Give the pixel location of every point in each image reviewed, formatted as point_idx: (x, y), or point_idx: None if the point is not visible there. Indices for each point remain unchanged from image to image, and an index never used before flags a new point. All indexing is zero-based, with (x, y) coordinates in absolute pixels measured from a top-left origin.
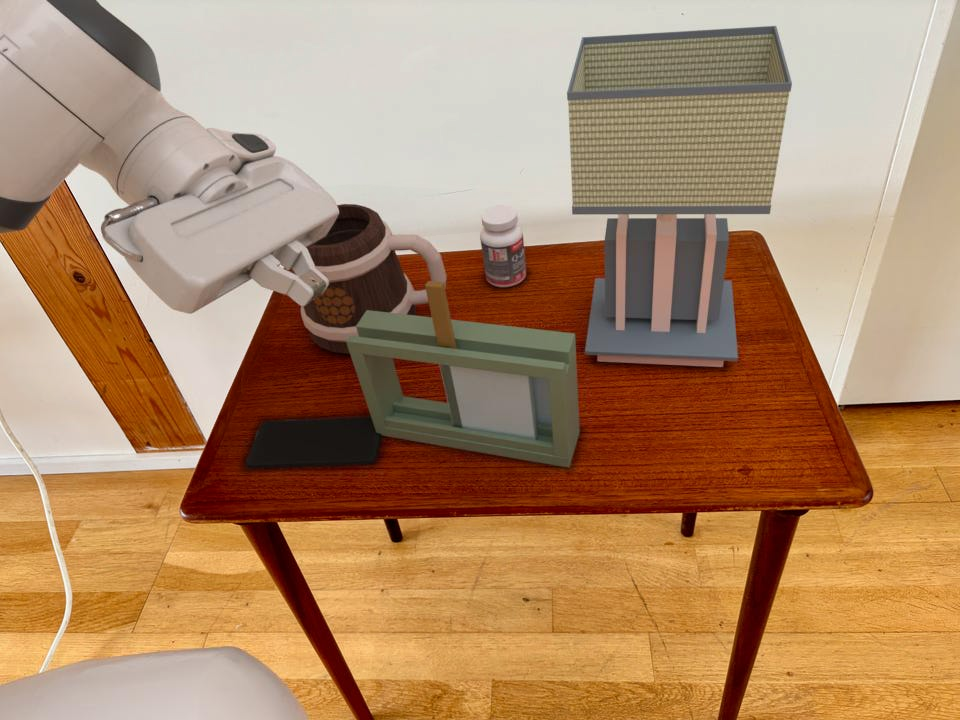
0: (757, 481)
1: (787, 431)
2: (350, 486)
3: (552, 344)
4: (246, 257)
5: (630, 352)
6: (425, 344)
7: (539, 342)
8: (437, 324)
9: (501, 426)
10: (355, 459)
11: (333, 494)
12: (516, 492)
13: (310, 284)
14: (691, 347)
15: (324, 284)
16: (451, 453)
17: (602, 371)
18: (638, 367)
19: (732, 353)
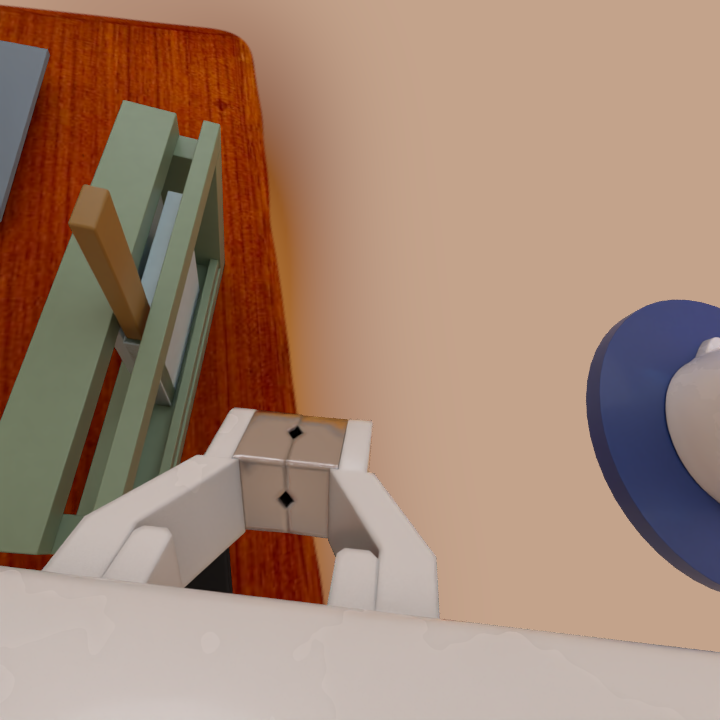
0: (235, 99)
1: (163, 59)
2: (274, 560)
3: (153, 132)
4: (624, 653)
5: (13, 159)
6: (105, 372)
7: (145, 151)
8: (128, 288)
9: (187, 321)
10: (224, 570)
11: (292, 584)
12: (267, 321)
13: (329, 431)
14: (14, 89)
15: (268, 411)
16: (201, 415)
17: (27, 217)
18: (25, 173)
19: (36, 52)
